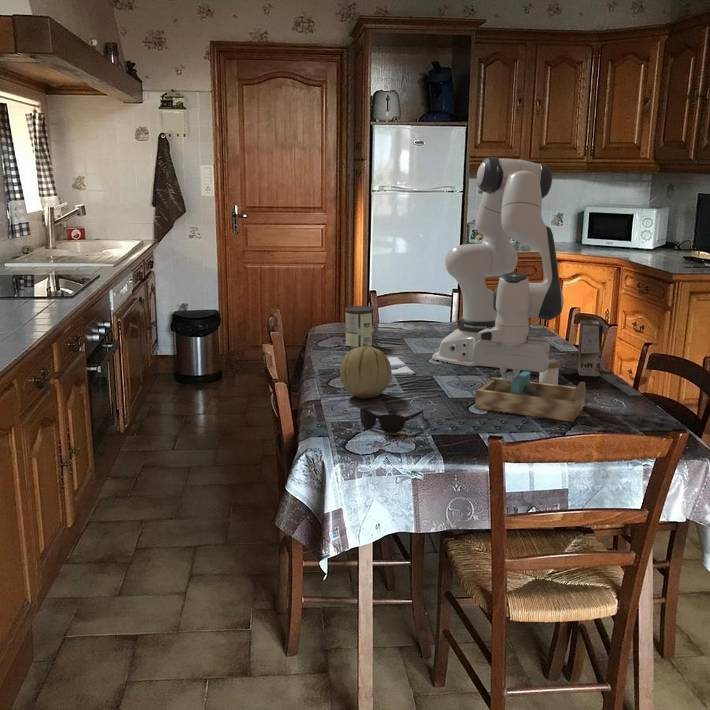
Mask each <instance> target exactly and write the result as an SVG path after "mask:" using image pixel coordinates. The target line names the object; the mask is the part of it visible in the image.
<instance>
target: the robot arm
mask: <svg viewBox="0 0 710 710" xmlns="http://www.w3.org/2000/svg"><path fill="white" fill-rule="evenodd" d="M551 170H552V169H551V168H550V167H549V166H547V165H546V164H542V163H536V162H533V161H530V160H524V159H514V158H498V157H497V156H496V157H495V156H492V157H490V156H489V157H486V158H484V159H483V160H482V161H481V163H480V165H479V167H478V170H477V171H476V172H477V173H476V180H477V182H476V184H477V187H478V188H479V189H480V191H481V192H483V193H482V196H481V200H480V203H479V207H478V209H477V210H478V211H477V213H476V217H475V221H474V223H475V228H476V230H477V231H478V232H479V233H480V234H481V235H482V236H483V240H482V242H481V243H464V244H461V245H458V246H453V247H451V248H449V250H448V251H447V253H446V256H445V259H444V263H445V269H446V271H447V272H448V273H449V276H451V277H453V278H454V279H455V280H456V282H457V283H458V285H459V288H460V290H461V294H462V304H463V305H462V311H463V312H462V316H461V317H459V319H458V320H457V321H456V322H455V325H456V327H457V328H456V329H455V330H453V331H452V332H451V333H449V334H448V335H446V336H445V337H444V338H443V339H442V340H441V341H440V345H439V349H438V351H436V352H434V353H433V355H432V357H431V359H432V358H433V359H434V360H433V359H432V360H433V361H436V360H439V361H438V362H442V361H443V362H444V363H447V362H448V364H455V365H461V366H466V367H476V366H477V367H478V366H480V367H491V368H499V373H500V375H501V377H502V378H503V384H508V385H512V381H513V380H514V379H515V378H516V377H517V376H518V375H520V374H521V371H525V372H535V373H540V372H545V371H546V370H547V369H548V367H549V359H550V358H549V353H550V350H551V343H550V341H549V340H548V339H546V338H545V337H543V336H532V335H529V329H530V328H529V327H530V326H529V325H530V323H529V319H530V318H531V319H533V318H534V319H540V320H546V321H551V320H553V319H555V318H556V317H558V316H560V314H561V313H562V311H563V309H564V305H565V303H564V301H565V300H564V293H563V291H562V287H561V283H560V278H559V277H560V275H559V268H558V267H559V266H558V260H557V259H558V258H557V251H556V250H557V249H556V246H555V244H556V243H555V239H554V233H553V231H552V228H551V227H549V226H548V225H546V224H545V222H544V220H543V216H542V199H544V198H545V197H547V196H548V194H549V193H550V190H551V188H552V183H553V172H552V171H551ZM510 239H512V240H514V241H515V242H517V243H519V244H522V245H525V246H528V247H529V248H532V249H534V250H535V251H536V252H538V254H540V256H541V263H542V269H543V270H542V271H543V277H544V278H543V279H544V280H543V281H542V282H530V280H529V276H527V275H526V274H525V273H521V272H515V271H514V270H515V269H516V268H517V265H518V262H519V257H518V255H519V254H518V252H517V250H516V248H515V247H514V246H513V245H512V243H511V240H510ZM513 271H514V272H513ZM489 277H499V278H498V284H497V287H495V289H494V290H491V289H490V288H488V286H487V285H486V278H489ZM508 369H509V370H512V373H513V376H508V375H507V372H506V371H507V370H508Z"/></svg>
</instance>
